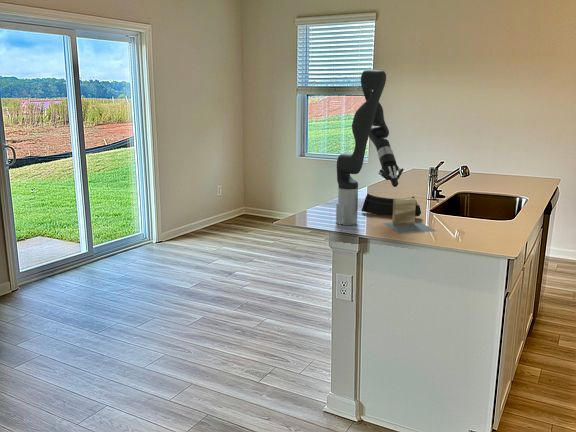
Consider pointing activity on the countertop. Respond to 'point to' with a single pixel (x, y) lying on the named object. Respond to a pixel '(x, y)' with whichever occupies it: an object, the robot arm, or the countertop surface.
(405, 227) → the rubber mat
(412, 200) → the oak tile
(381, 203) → the magazine
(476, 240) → the countertop surface
